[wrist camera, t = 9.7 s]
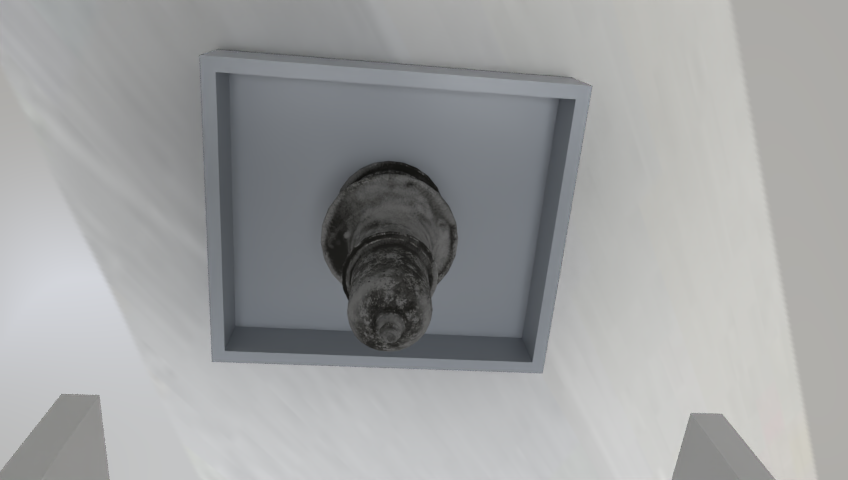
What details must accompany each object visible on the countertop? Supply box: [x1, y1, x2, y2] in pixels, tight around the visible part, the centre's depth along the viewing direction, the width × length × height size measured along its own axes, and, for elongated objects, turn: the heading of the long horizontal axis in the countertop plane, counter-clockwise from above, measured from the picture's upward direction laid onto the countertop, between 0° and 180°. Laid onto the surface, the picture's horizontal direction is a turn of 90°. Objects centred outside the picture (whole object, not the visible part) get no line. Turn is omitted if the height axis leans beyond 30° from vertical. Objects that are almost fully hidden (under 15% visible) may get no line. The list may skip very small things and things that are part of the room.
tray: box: [200, 49, 592, 373], centre depth 30 cm, size 14×16×3 cm
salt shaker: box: [321, 161, 458, 352], centre depth 25 cm, size 6×6×12 cm
